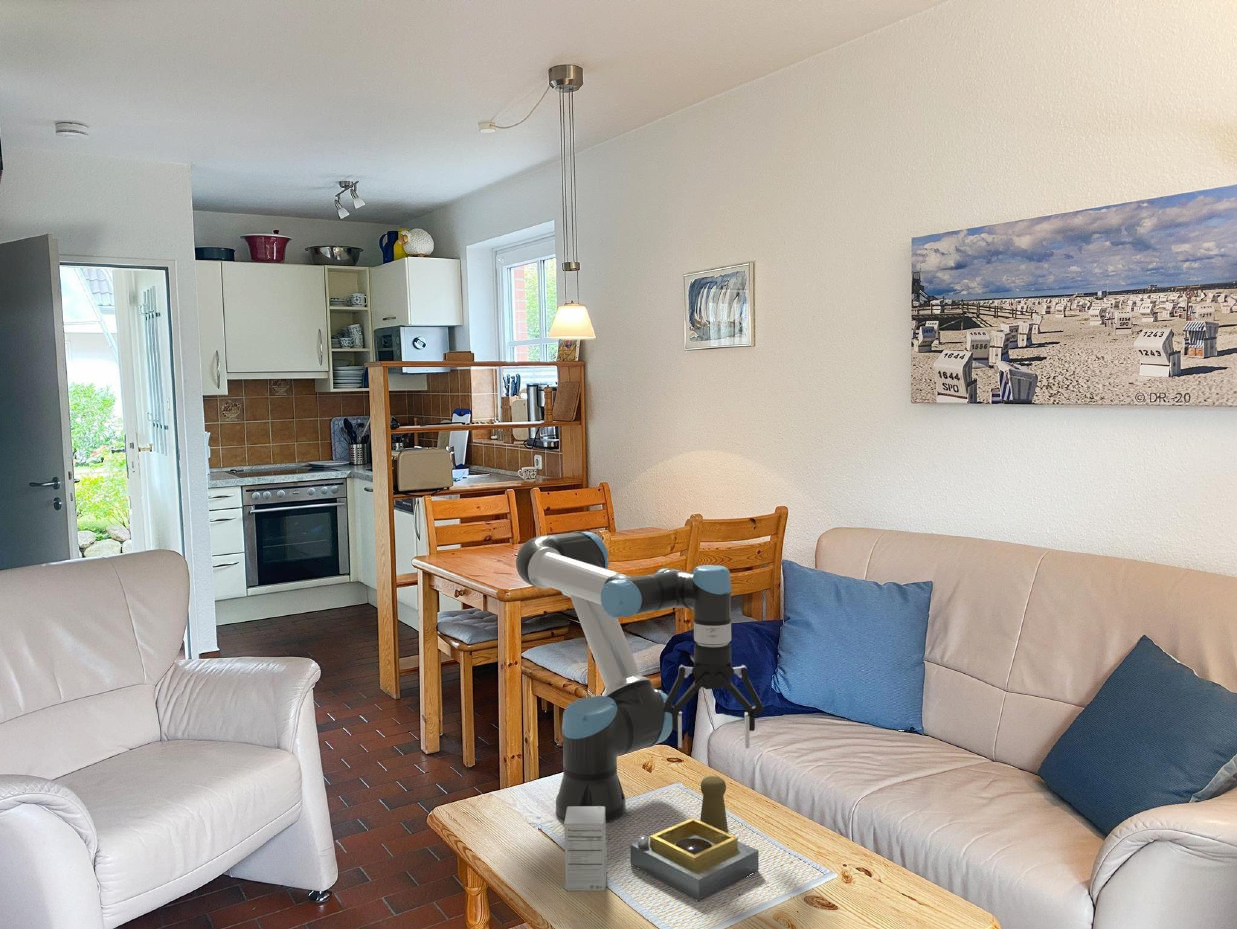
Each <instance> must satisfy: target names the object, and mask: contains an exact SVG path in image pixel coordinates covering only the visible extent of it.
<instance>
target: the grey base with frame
mask: <svg viewBox="0 0 1237 929" xmlns="http://www.w3.org/2000/svg"><path fill="white" fill-rule="evenodd" d="M629 852H630V854H629V855H630V856H629V857H630V863H629V864H631V865H630V866H632V865H633V866H634V868H635V867H636V869H637V868H639V869H638V870H639V871H641V870H642V871H641V872H643V871H644V872H643V873H645V872H646V873H647V875H648V874H650V875H651V876H650V875H649V876H650V877H652V876H653V877H652V878H654V879H656V880H657V879H658V880H657V881H659V880H660V882H661V881H662V882H661V883H663V882H664V884H665V885H667V886H668V887H670V886H671V887H670V888H672V889H674V888H675V889H674V890H676V891H678V892H680V893H681V894H683V893H684V894H683V895H685V894H686V895H685V896H687V897H688V898H691V897H692V898H693V899H692V898H691V899H692V900H694V899H695V901H696V900H697V901H696V902H698V903H700V902H702V901H704V900H706V899H708V898H710V897H712V896H714V895H715V894H717V893H719V892H721V891H723V890H724V889H728V888H729V887H731V886H733V885H735V884H737V883H738V882H740V881H743V880H745V879H747V878H748V877H747V876H749V875H750V874H752V873H754V874H756V873H757V872H756V871H758V870H759V856H760V855H759V849H756V848H754V847H752V846H749V845H747V844H745V843H743V842H741V841H739V840H738V837H737V836H735V835H732V834H730V833H729V832H728V833H726V832H724V831H721V830H719V829H717V828H715V827H712V826H710V825H708V824H706V823H704V822H701V821H700V819H697V818H694V817H691V818H689V819H687V820H684V821H682V822H679V823H676V824H675V825H671V826H670V827H667V828H665V829H663V830H660V831H658V832H656V833H652V834H651V835H649V836H648V835H644V834H642V835H639V836H638V837H637V841H635V842H633V843H630V845H629ZM633 866H632V867H633ZM759 871H760V870H759ZM759 871H758V872H759ZM755 872H756V873H755ZM646 873H645V874H646ZM752 875H753V874H752ZM750 876H751V875H750ZM750 876H749V877H750ZM746 877H747V878H746ZM744 878H745V879H744ZM742 879H743V880H742ZM713 894H714V895H713ZM709 896H710V897H709ZM707 897H708V898H707ZM701 900H702V901H701Z"/></svg>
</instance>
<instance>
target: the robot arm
mask: <svg viewBox="0 0 1237 929" xmlns="http://www.w3.org/2000/svg"><path fill="white" fill-rule="evenodd" d="M608 559H609V552H608V548H607V546H606V544H605V542H604V541H603V540H602V538H601V537H600V536H598V535H597V534H596V533H594V532H590V531H580V530H579V531H571V532H566V533H558V534H556V533H555V534H547V535H538V536H535V537H533V538H530V539H529V540H527V541H526V542H524V544H523V545H522V546H521V547H520V549H519V550H518V552H517V555H516V560H515V567H516V571H517V574H518V575H519V577H520V578H521V579H522V581H524V582H525V583H526V584H528V585H530V586H533V587H535V588H538V589H542V590H546V589H550V588H552V589H554V590H558V591H560V593H561V594H562V595H563V596H566V597H568V598H570V600H571V602H572V605H573V607H574V610H575V613H576V615H577V618H578V620H579V624H580V626H581V628H582V631H583V633H584V636H585V638H586V641H587V644H588V646H589V649H590V651H591V654H592V657H593V659H594V662H595V664H596V667H597V669H598V671H599V675H600V676H601V679H602V682H603V684H604V687H605V693H604V695H595V696H586V697H582V698H579V699H576V700H574V701H572V702H571V703H569V704H568V705H567V706H566V707H565V709H564V711H563V714H562V725H561V731H562V732H561V733H562V759H563V760H562V764H563V765H562V767H563V770H562V772H563V774H562V779H561V783H560V785H559V786H560V787H559V790H558V794H557V795H556V798H555V813H556V815H557V816H558V817H560V818H561V819H563V820H564V821H565V816H566V810H567V807H571V806H602V807H605V820H606V823H608V822H612V821H615V820H616V819H619V818H620V817H622V816H623V815H624V814H625V812H626V809H627V808H626V807H627V806H626V804H627V803H626V795H625V793H624V789H623V787H622V784H621V781H620V778H619V775H618V757H619V756H621V755H625V754H629V753H632V752H635V751H636V752H637V751H639V750H642V749H645V748H652V747H654V746H655V745H657V744H660V743H663V742H664V741H666V740H667V739H668V737H669V736H670V735H671V733H672V731H677V747H678V748H679V749H682V748H683V735H682V734H683V725H682V724H683V722H682V717H683V716H682V714H683V712H682V710H683V708H684V707H686V705H687V704H688V703H689V702H690V700H691V699H692V698H693V697H694V696H695V695H696V693H698V692H699V691H700V690H701V688H703V689H705V690H712V689H715V690H721V689H723V688H725V689H726V690H727V691H728V692H729V693H730V695H732V697H733V698H734V699H735V700H736V701H737V702H738V703H739V704H740V706H741V707H742V708H743V710H745V712H744V746H745V749H750V732H751V731H752V732H755V728H756V715H757V714H762V713H764V711H765V709H764V706H763V703H762V700H760V697H759V696H758V694H757V692H756V690H755V688H754V686H753V684H752V682H751V680H750V678H749V676H748V669H747V665H745V664H741V665H740V666H735V667H733V664H732V644H731V643H730V642H731V641H732V612H731V611H732V610H731V609H732V604H731V603H732V588H733V587H732V584H731V582H732V581H731V572H730V570H729V569H728V568H727V567H726V566H723V565H718V564H717V565H715V564H707V565H705V564H703V565H699V566H696V567H695V568H694V569H693V572H689V571H685V570H680V569H677V568H660V569H659V570H658V571H656V572H655V573H653V574H647V575H640V576H631V575H627V574H623V573H621V572H617V571H614V570H610V569H608V568H609V565H610V561H609V560H608ZM673 608H674V609H675V608H681V609H682V608H683V609H686V610H691V611H693V640H694V642H695V643H694V644H693V658H694V659H693V662H694V663H693V665H692V666H685V664H680V665H679V667H678V674H677V677H676V678H675V681H674V683H673V685H672V687H671V689H670V691H669V692H668V694H666V693H665V692H664V691H663V690H661V689H658V688H657V689H656V688H654V687H653V686H654V685H653V684H652V682H651V680H650V678H649V677H645V676H644V675H642V674H641V672H640V670H639V667H638V665H637V663H636V660H635V658H634V655H633V653H632V650H631V648H630V645H629V642H628V640H627V638H626V635H625V633H624V631H623V628H622V626H621V624H620V621H619V618H630V617H632V616H637V615H643V614H648V613H653V612H658V611H663V610H668V609H669V610H670V609H673ZM690 674H692V675H693V677H694V678H695V680H694V681H693V682H692V684H691V685H690V686H689V687H688V688H687V690H686V691H685V692H684V693H683V694H682V696H681V697H680V698H679V699H678V700H677V701H676V703H675V704H674V705H673V703H674V701H675V699H676V697H677V695H678V693H679V691H680V689H681V687H682V685H683V684H684V681H685V679H687V678H688V677H689V675H690ZM734 675H736V676H737V677H738V678H739V679H742V683H743V685H744V686H745V688H746V690H747V692H748V694H749V696H750V698H751V700H752V701H753V704H754V706H753V705H752V704H751V703H750V702H749V700H747V699H746V697H745V696H744V695H743V694H742V692H740V690H739V689H738V688H737V687H736V685H734V682H732V681H731V678H732V677H733V676H734Z"/></svg>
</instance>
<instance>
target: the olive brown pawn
mask: <svg viewBox="0 0 1237 929" xmlns="http://www.w3.org/2000/svg"><path fill="white" fill-rule="evenodd" d="M726 791H727V785H726V781H725V779H723V777H720V776H716V775H715V776H713V775H709V776H706V777H704V778H703V779H702V780H701V782H700V792H701V793H702V802H701V808H700V810H701V811H700V816H699V817H700V818H699V821H701V822H704V823H706V824H708V825H710V826H712V827H715V828H717V829H719V830H721V831H724V832H726V833H728V834H729V826H728V820H727V812H726V805H725V798H724V795H725V794H726Z"/></svg>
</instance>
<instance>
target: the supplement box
mask: <svg viewBox="0 0 1237 929" xmlns="http://www.w3.org/2000/svg"><path fill="white" fill-rule="evenodd" d="M563 823H564V825H563V826H564V830H563V831H564V873H565V875H564V877H565V882H564V883H565V890H566V891H577V892H578V891H579V892H580V891H582V892H584V891H585V892H588V891H589V892H590V891H591V892H597V891H598V892H601V891H602V892H603V891H605V890H606V886H607V885H606V883H607V834H606V833H607V832H606V831H607V829H606V827H607V825H606V824H607V822H606V820H605V807H602V806H571V807H567V810H566V816H565V820H564V822H563Z"/></svg>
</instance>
